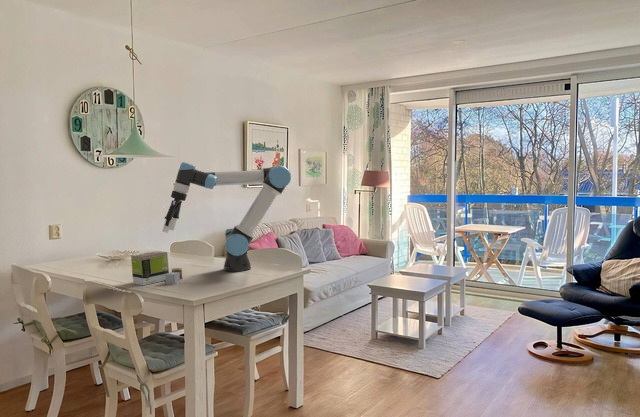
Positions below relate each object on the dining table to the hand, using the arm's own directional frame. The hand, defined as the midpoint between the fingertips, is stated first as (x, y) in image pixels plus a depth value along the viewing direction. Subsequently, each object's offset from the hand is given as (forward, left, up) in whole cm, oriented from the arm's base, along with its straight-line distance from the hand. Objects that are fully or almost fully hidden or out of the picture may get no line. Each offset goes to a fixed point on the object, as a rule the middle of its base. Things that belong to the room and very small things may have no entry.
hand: (168, 231), depth 253 cm
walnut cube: (-3, +1, -25) cm, 25 cm away
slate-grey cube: (-3, +12, -25) cm, 28 cm away
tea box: (+9, +6, -25) cm, 27 cm away
